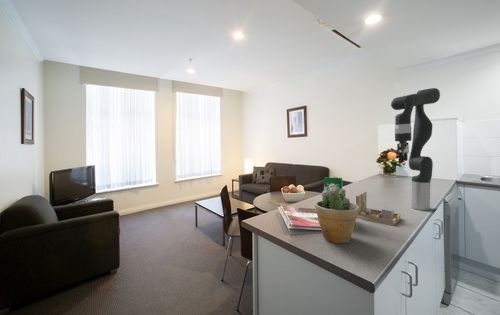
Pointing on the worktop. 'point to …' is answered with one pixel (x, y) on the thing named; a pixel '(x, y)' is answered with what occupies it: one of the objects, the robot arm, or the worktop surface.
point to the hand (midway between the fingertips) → (403, 161)
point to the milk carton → (332, 182)
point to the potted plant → (336, 215)
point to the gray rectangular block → (388, 213)
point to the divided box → (373, 212)
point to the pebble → (368, 211)
